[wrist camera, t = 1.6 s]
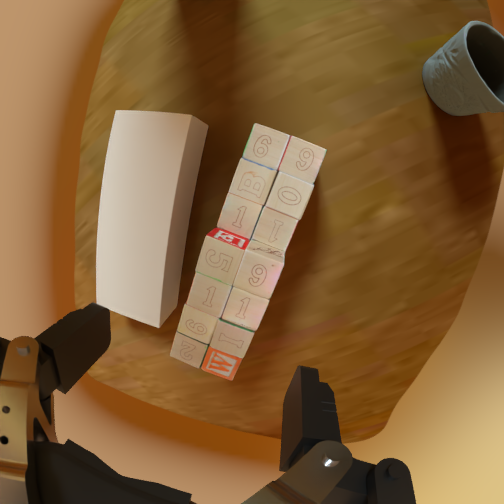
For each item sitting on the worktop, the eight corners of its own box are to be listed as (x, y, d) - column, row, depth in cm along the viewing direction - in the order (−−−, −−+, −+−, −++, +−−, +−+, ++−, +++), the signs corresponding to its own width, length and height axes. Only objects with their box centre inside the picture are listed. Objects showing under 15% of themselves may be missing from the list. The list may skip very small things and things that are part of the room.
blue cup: (466, 63, 21) (514, 38, 10) (480, 128, 24) (538, 120, 12) (409, 48, 23) (451, 7, 11) (423, 118, 25) (480, 98, 14)
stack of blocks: (264, 137, 29) (250, 111, 17) (316, 158, 29) (337, 145, 17) (203, 301, 35) (167, 357, 23) (248, 320, 35) (231, 383, 23)
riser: (142, 118, 29) (116, 110, 24) (208, 125, 29) (191, 114, 23) (120, 287, 36) (96, 304, 30) (177, 306, 35) (159, 328, 30)
